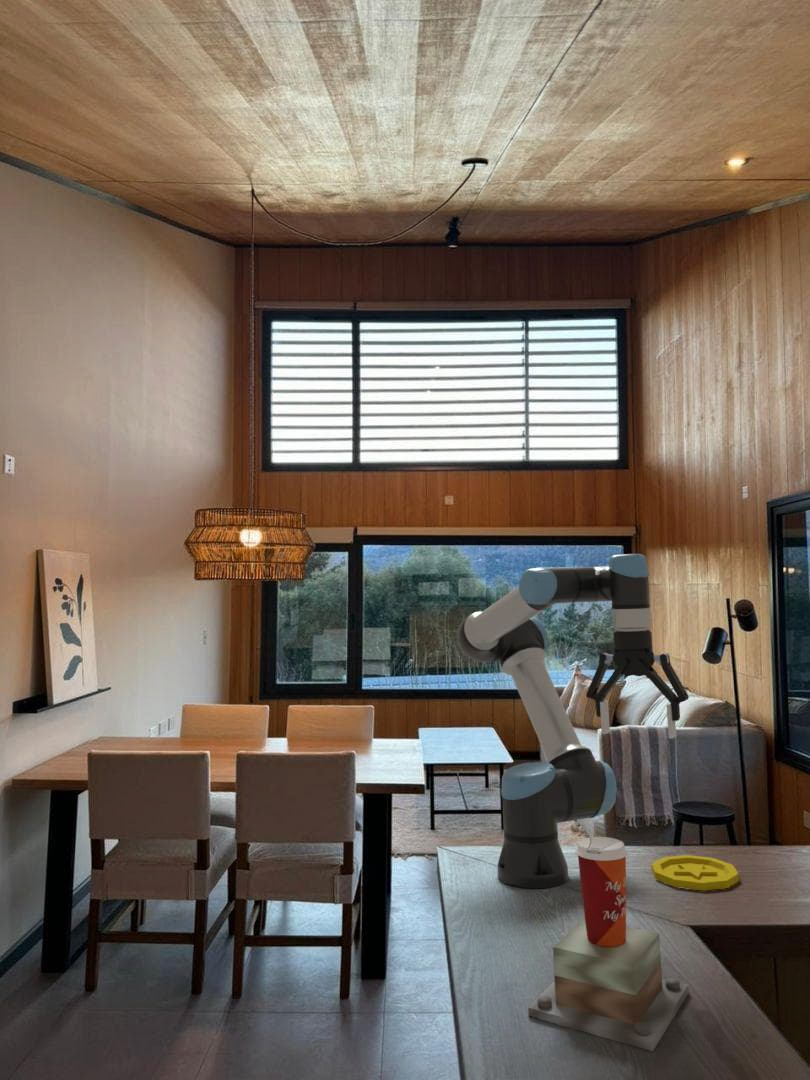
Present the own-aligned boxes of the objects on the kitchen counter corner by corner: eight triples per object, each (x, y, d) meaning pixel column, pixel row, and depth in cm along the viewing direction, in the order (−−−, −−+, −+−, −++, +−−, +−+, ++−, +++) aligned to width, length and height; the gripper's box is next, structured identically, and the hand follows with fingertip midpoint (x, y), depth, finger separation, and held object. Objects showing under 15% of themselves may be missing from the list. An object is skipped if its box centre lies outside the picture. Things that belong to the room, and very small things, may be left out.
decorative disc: (637, 880, 169) (637, 870, 169) (677, 859, 181) (677, 850, 182) (714, 899, 157) (713, 888, 157) (751, 875, 169) (750, 865, 170)
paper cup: (624, 954, 114) (618, 853, 115) (572, 944, 118) (567, 847, 119) (639, 934, 120) (633, 839, 121) (590, 924, 124) (585, 833, 125)
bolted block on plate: (528, 1016, 116) (525, 950, 116) (576, 966, 130) (572, 908, 131) (652, 1051, 106) (648, 979, 106) (688, 992, 120) (684, 930, 121)
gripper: (699, 628, 159) (706, 736, 157) (580, 629, 173) (586, 728, 171) (689, 630, 153) (697, 742, 151) (567, 631, 167) (572, 734, 165)
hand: (638, 735), depth 161 cm, fingers open, 13 cm apart
